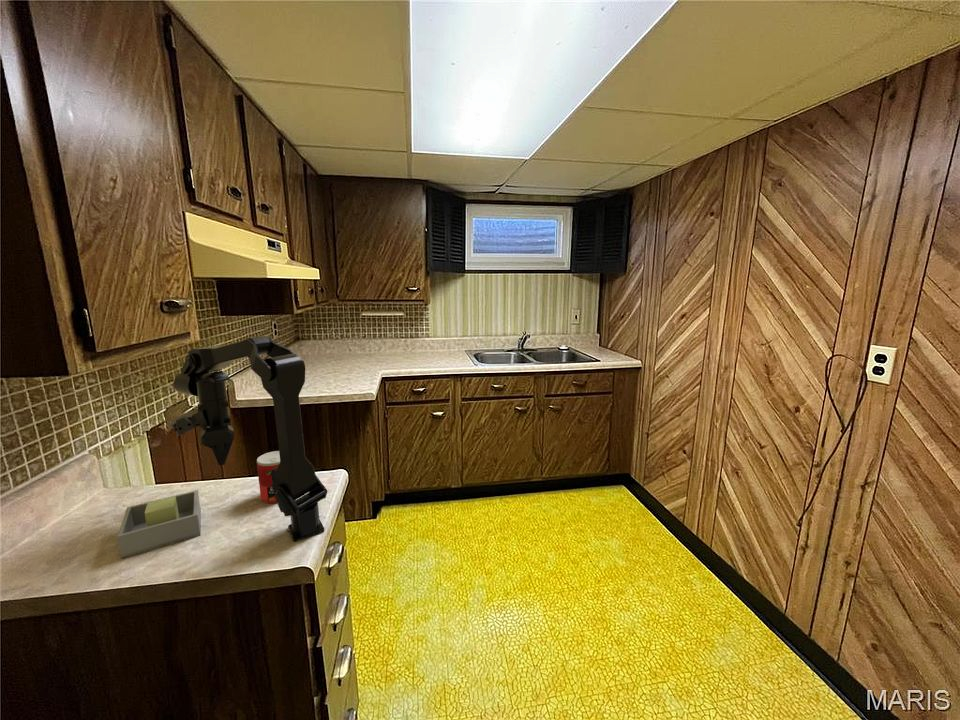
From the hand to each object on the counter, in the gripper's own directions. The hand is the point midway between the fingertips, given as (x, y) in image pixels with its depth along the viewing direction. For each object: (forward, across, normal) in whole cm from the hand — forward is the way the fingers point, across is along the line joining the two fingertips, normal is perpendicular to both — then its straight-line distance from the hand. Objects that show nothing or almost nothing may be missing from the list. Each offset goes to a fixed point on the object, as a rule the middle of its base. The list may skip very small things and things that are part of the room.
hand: (221, 458), depth 96 cm
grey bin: (+12, +6, -12) cm, 18 cm away
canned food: (+12, +4, +11) cm, 17 cm away
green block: (+11, +6, -12) cm, 18 cm away
